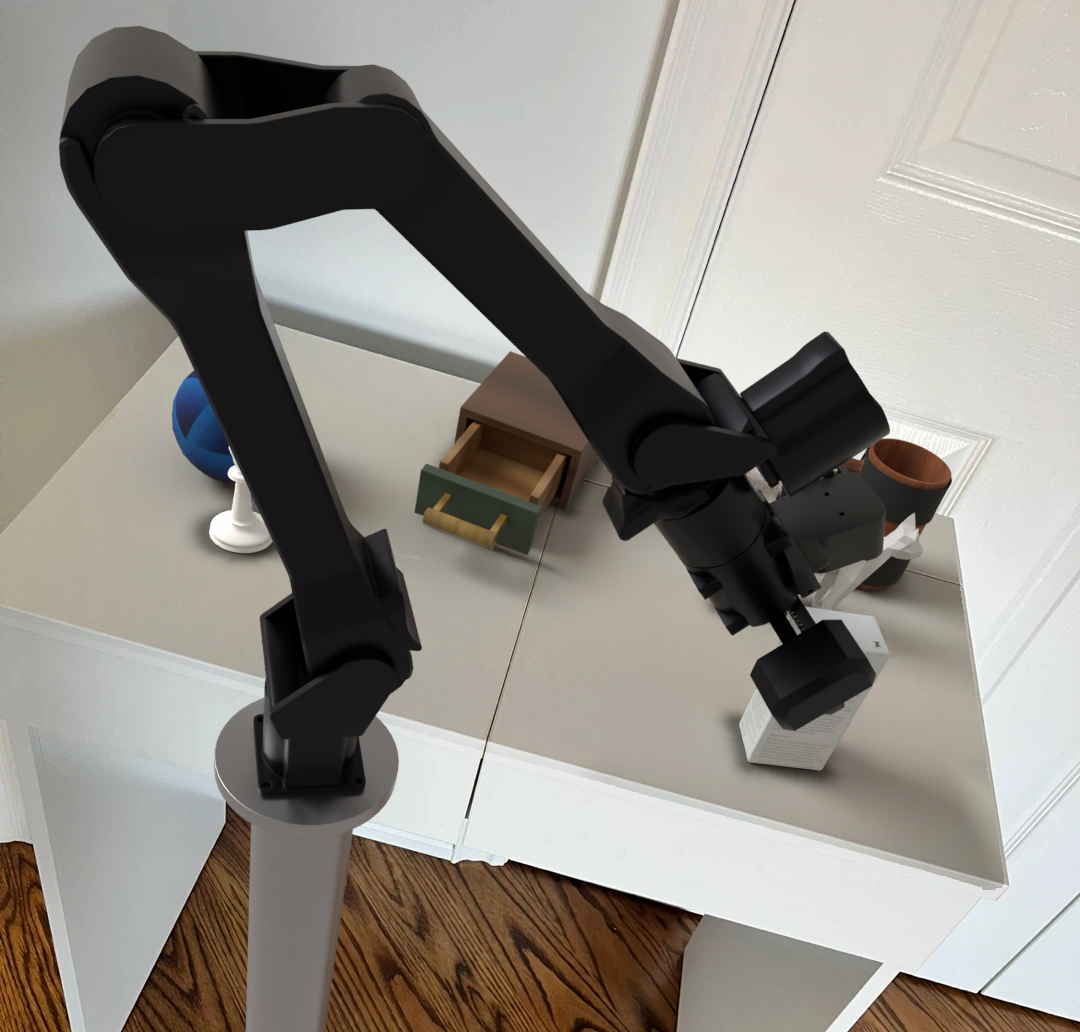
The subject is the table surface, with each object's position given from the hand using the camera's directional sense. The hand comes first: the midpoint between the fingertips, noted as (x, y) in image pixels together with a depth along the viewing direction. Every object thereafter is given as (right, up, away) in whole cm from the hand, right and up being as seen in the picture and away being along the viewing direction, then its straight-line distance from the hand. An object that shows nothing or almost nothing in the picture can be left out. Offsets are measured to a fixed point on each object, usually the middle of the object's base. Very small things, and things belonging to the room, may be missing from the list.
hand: (807, 661), depth 70 cm
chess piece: (-42, +11, +11) cm, 45 cm away
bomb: (-44, +17, +16) cm, 50 cm away
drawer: (-23, +14, +19) cm, 33 cm away
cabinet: (-19, +22, +29) cm, 41 cm away
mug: (+10, +11, +27) cm, 31 cm away
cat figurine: (+1, +6, +19) cm, 20 cm away
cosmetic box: (-1, -6, +7) cm, 9 cm away
